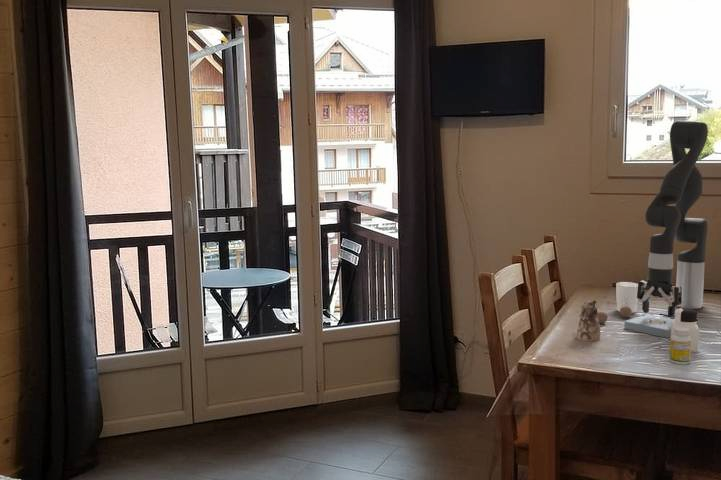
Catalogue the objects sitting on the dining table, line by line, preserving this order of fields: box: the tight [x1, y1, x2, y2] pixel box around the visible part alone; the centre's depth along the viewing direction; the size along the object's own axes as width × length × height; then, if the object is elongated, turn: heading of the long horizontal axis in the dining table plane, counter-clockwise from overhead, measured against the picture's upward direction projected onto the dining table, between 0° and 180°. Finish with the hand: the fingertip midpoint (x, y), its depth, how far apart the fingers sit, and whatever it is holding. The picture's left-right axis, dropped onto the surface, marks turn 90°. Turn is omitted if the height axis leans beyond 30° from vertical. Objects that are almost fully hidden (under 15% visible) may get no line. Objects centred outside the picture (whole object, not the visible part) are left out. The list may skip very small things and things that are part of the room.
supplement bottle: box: [669, 327, 692, 366], centre depth 203 cm, size 5×5×10 cm
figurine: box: [576, 300, 602, 342], centre depth 228 cm, size 7×7×12 cm
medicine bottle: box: [669, 307, 700, 353], centre depth 216 cm, size 7×7×12 cm
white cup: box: [615, 281, 639, 314], centre depth 264 cm, size 8×8×10 cm
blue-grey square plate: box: [623, 313, 675, 339], centre depth 239 cm, size 15×15×2 cm
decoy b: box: [597, 311, 608, 324], centre depth 247 cm, size 4×4×4 cm
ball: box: [651, 317, 664, 324], centre depth 239 cm, size 4×4×4 cm
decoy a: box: [619, 306, 633, 319], centre depth 255 cm, size 4×4×4 cm
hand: (658, 314), depth 238 cm, fingers open, 8 cm apart
